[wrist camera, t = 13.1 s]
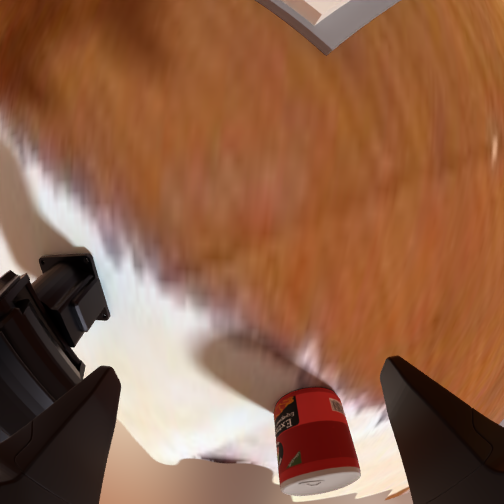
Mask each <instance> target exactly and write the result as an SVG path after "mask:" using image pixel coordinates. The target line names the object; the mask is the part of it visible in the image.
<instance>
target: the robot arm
mask: <svg viewBox="0 0 504 504" xmlns="http://www.w3.org/2000/svg"><path fill="white" fill-rule="evenodd" d="M86 258H87V259H88V261H89V262H88V261H87V260H86ZM39 263H40V266H41V270H42V273H43V274H42V275H41V276H40V277H39V278H38V279H36V280H35V281H34V282H33V283H32V284H31V283H30V281H29V280H30V279H29V277H28V275H27V273H25V274H23V275H21V276H18V275H16V274H15V273H13V272H12V271H11V270H10V271H8V272H6V273H5V274H4V275H3V276H1V277H0V504H99V499H100V493H101V488H102V483H103V477H104V472H105V467H106V463H107V458H108V454H109V449H110V445H111V440H112V437H113V432H114V428H115V423H116V417H117V410H118V404H119V397H120V391H121V383H120V381H119V379H118V377H117V375H116V373H115V371H114V369H113V368H112V367H110V366H100V367H98V368H97V369H96V370H95V371H93V372H92V373H91V374H90V375H88V376H87V377H86V378H84V379H83V376H84V371H85V364H84V363H83V362H82V361H81V360H79V358H78V357H77V356H76V354H75V353H74V352H73V350H72V349H71V347H75V346H76V344H77V343H78V341H79V340H80V338H81V337H82V335H83V334H84V332H88V330H89V329H90V327H91V326H92V324H93V323H94V321H95V320H104V321H106V320H108V319H109V317H110V313H109V310H108V307H107V303H106V299H105V296H104V293H103V290H102V287H101V283H100V280H99V278H98V275H97V271H96V268H95V264H94V260H93V257H92V256H91V255H90V254H68V255H50V256H42V257H41V258H40V259H39ZM104 314H105V315H106V316H105V315H104ZM380 381H381V385H382V389H383V394H384V398H385V403H386V408H387V412H388V417H389V420H390V423H391V426H392V429H393V432H394V436H395V439H396V442H397V445H398V449H399V452H400V455H401V459H402V462H403V466H404V469H405V473H406V476H407V480H408V484H409V488H410V492H411V496H412V500H413V504H504V427H502V426H500V425H498V424H497V423H495V422H493V421H492V420H490V419H488V418H487V417H485V416H484V415H482V414H481V413H479V412H478V411H476V410H475V409H474V408H471V406H469V405H468V404H466V403H465V402H464V401H462V400H461V399H459V398H458V397H457V396H455V395H454V394H452V393H451V392H449V391H448V390H447V389H445V388H444V387H442V386H441V385H440V384H438V383H437V382H435V381H434V380H432V379H431V378H430V377H428V376H427V375H425V374H424V373H423V372H421V371H420V370H418V369H417V368H415V367H414V366H413V365H411V364H410V363H408V362H407V361H406V360H404V359H403V358H401V357H400V356H392V357H388V358H387V359H386V361H385V363H384V366H383V368H382V371H381V374H380Z"/></svg>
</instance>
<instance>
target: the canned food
mask: <svg viewBox="0 0 504 504" xmlns="http://www.w3.org/2000/svg"><path fill="white" fill-rule="evenodd" d="M274 421H275V433H276V446H277V458H278V470H279V480H280V487H281V492H283V493H284V494H288V495H295V496H305V495H315V494H321V493H326V492H330V491H334V490H337V489H340V488H343V487H345V486H347V485H349V484H351V483H353V482H355V481H356V480H358V479H359V478H360V476H361V473H360V467H359V463H358V458H357V455H356V451H355V448H354V444H353V441H352V437H351V434H350V430H349V427H348V423H347V420H346V417H345V413H344V410H343V407H342V403H341V400H340V399H339V397H338V396H337V395H336V393H335V392H333V391H332V390H329V389H326V388H318V387H312V388H304V389H300V390H296V391H294V392H291V393H289V394H287V395H285V396H284V397H282V398H281V399H280V400H279V401H278V402H277V404H276V407H275V410H274Z"/></svg>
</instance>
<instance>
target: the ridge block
mask: <svg viewBox="0 0 504 504" xmlns="http://www.w3.org/2000/svg"><path fill="white" fill-rule="evenodd" d="M255 1H257V2H259V3H260V4H262V5H263V6H264V7H266V8H267V9H269V10H270V11H272V12H273V13H274V14H276V15H277V16H279V17H280V18H281V19H283V20H284V21H285V22H287V23H288V24H289V25H291V26H292V27H293V28H294V29H296V30H297V31H298V32H299V33H301V34H302V35H303V36H304V37H305V38H307V39H308V40H309V41H310V42H311V43H312V44H314V45H315V46H316V47H317V48H318V49H319V50H320V51H321V52H323V53H324V54H325V55H328V54H329V53H330V52H331V51H333V50H334V49H335V48H336V47H337V46H339V45H340V44H341V43H342V42H344V41H345V40H346V39H347V38H349V37H350V36H351V35H353V34H354V33H355V32H357V31H358V30H359V29H361V28H362V27H363V26H365V25H366V24H367V23H369V22H370V21H371V20H373V19H374V18H376V17H377V16H378V15H380V14H381V13H383V12H384V11H386V10H387V9H388V8H390V7H391V6H393V5H394V4H396V3H397V2H399V1H400V0H255Z"/></svg>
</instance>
